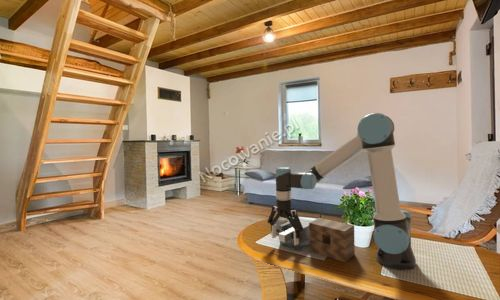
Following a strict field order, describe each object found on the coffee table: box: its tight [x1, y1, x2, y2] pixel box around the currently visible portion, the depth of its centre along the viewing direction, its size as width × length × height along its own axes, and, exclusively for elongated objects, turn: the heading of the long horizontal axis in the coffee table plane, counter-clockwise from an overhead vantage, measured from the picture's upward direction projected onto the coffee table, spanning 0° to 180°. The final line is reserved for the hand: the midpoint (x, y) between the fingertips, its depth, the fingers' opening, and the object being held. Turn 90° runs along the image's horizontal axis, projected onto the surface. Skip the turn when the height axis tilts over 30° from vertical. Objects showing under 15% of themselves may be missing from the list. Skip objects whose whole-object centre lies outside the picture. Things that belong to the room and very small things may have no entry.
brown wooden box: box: [308, 217, 355, 263], centre depth 124 cm, size 18×10×14 cm, turn 46°
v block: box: [279, 221, 310, 251], centre depth 135 cm, size 12×10×10 cm
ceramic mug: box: [275, 217, 289, 232], centre depth 157 cm, size 11×8×8 cm
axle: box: [278, 227, 295, 242], centre depth 133 cm, size 4×16×4 cm, turn 136°
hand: (284, 240), depth 129 cm, fingers open, 13 cm apart
